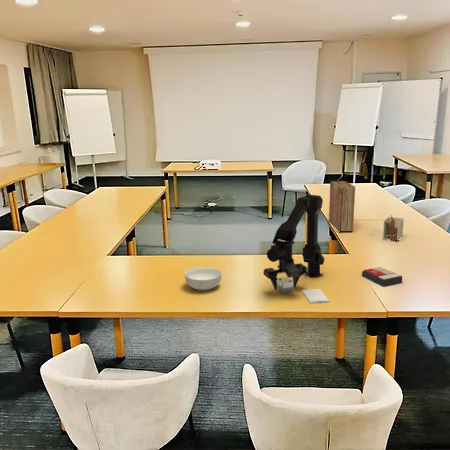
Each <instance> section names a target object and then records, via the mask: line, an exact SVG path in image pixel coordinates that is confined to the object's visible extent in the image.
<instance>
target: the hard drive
mask: <svg viewBox="0 0 450 450" xmlns="http://www.w3.org/2000/svg"><path fill="white" fill-rule="evenodd" d="M301 292H302V294H303V296H304V297H305V299H306V300H307V302H308V303H309V304H310V305H313V304H314V305H315V304H318V305H319V304H330V300H329V298H328V297H327V296H326V295H325V293H324V292H323V291H322V289H320V288H315V289H302V290H301Z"/></svg>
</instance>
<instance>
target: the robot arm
mask: <svg viewBox="0 0 450 450" xmlns="http://www.w3.org/2000/svg"><path fill="white" fill-rule="evenodd" d="M323 202H324V200H323V197H322V196H321V195H317V194H310V193H308V194H306V195H305V196H301V197H298V198H297V200H296V203H295V205H294V207H293V209H292V210H291V212H290V214H289V216H288V217H287V220H286V221H285V222H283V223H281V225H279V226H278V228H277V230H276V231H275V235H274V237H273V240H272V242H271V243H272V245H270V248H269V249H268V250H267V252H266V257H267V260H268V261H270V262H272V263H275V262H278V264H277V268H278V269H274V268H273V267H267V268H264V269H263V275H264V277H266V278H267V279H269V280H270V281H271V284H272V287H273V289H274V291H275V292H277V291H278V290H277V279H279V278H278V275H281V274H285V275H286V277H287V278H289V279H290V278H292V281H293V282H294V283H293V289H294V288H296V287H297V284H298V282H299V280H300V278H301V276H304V275H307V276H308V277H309V278H317V277H322V276H323V274H322V273H321V265H322V266H323V265H324V263H325V257H324V256H323V254H322V248H321V247H320V245H319V242H318V238H319V237H318V235H319V234H318V233H319V232H318V231H319V230H318V229H319V213H320V211H321V210H322V207H323ZM305 212H306V214H307V215H306V216H307V217H306V221H307V222H306V244H305V246H303V248H302V259H303V262H304V263H306V264H307V266H306V265H304V264H303V263H300V262H299V263H295V259H294V258H293V245H294V244H295V241H294V240H295V238H296V234H298V233H297V232H298V231H297V227H298V225H299V224H300V221H301V219H302V218H303V215H305Z"/></svg>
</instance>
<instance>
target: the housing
mask: <svg viewBox="0 0 450 450" xmlns="http://www.w3.org/2000/svg"><path fill="white" fill-rule="evenodd" d="M293 283H294V282H293V279H292V280H291V279H290V278H289V277H287V276H286V277H281V278H278V279H277V291H278V292H279V293H280V294H281V295H282V296H285V295H290V294H291V295H292V294H294V287H293Z"/></svg>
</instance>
